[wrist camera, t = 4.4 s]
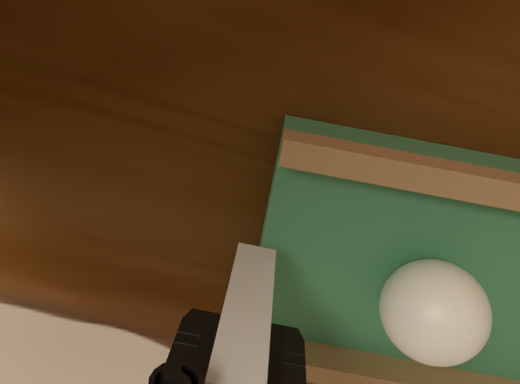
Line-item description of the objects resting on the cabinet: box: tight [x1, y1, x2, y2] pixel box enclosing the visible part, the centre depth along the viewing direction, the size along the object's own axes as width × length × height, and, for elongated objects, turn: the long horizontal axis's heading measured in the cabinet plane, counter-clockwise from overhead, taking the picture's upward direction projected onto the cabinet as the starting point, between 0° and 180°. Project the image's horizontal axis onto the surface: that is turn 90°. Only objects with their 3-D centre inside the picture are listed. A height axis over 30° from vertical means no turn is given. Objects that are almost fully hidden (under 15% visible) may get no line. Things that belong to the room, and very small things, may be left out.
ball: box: [379, 259, 492, 367], centre depth 15 cm, size 4×4×4 cm
